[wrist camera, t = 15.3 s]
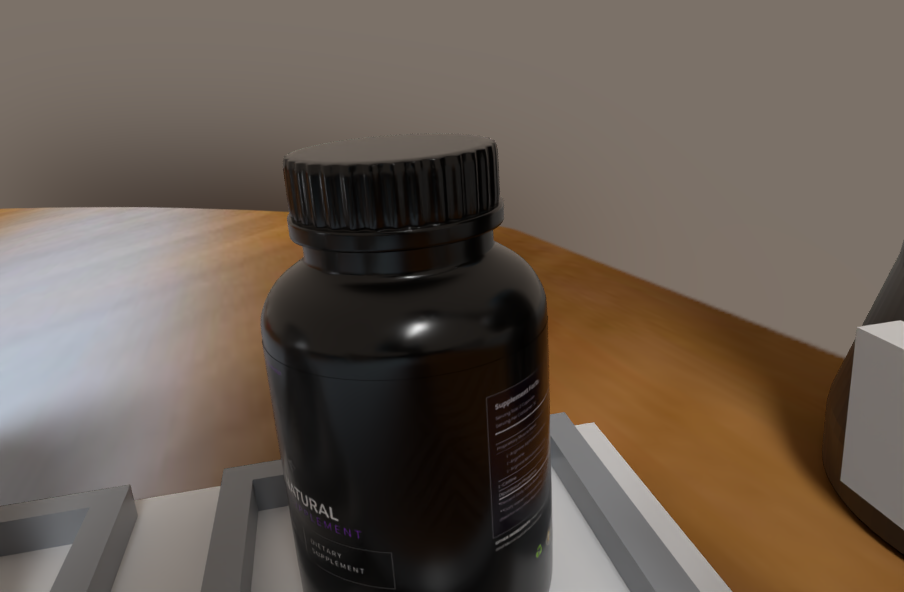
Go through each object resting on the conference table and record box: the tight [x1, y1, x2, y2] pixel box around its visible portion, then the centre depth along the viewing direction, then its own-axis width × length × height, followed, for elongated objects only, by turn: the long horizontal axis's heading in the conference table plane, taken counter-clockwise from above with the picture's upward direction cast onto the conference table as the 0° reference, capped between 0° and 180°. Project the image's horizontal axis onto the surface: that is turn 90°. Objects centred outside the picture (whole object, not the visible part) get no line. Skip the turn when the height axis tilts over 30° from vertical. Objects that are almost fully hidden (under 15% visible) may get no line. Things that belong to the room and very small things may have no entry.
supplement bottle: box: [261, 134, 553, 592], centre depth 18 cm, size 7×7×12 cm
